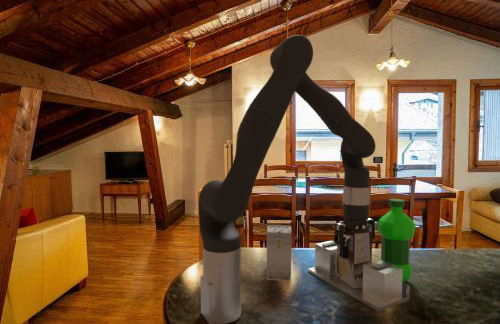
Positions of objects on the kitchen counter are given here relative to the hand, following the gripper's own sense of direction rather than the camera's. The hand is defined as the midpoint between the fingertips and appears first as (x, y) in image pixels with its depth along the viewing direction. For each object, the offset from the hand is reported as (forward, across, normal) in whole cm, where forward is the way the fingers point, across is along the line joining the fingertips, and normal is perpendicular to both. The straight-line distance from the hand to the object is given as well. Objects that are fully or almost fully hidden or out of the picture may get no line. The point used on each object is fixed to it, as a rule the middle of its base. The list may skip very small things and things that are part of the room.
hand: (354, 255), depth 96 cm
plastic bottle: (+9, -13, +4) cm, 16 cm away
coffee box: (+8, 0, 0) cm, 8 cm away
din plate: (+9, 0, 0) cm, 9 cm away
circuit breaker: (+9, +14, -19) cm, 25 cm away
